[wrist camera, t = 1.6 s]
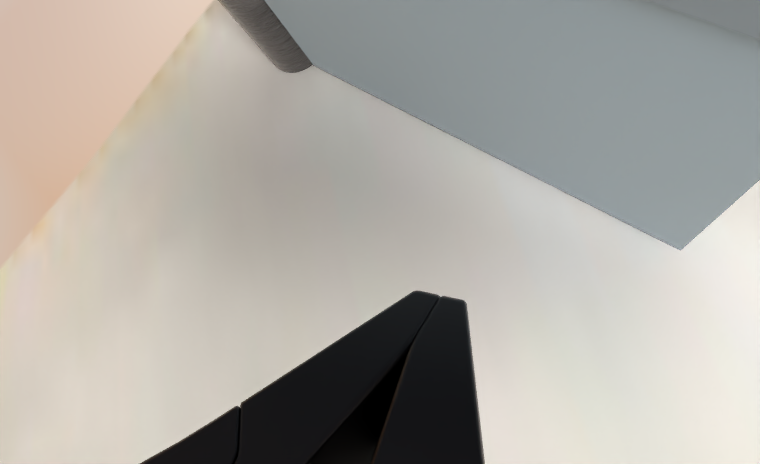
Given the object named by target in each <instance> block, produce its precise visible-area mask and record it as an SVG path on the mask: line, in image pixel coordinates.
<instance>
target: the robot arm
mask: <svg viewBox="0 0 760 464" xmlns="http://www.w3.org/2000/svg"><path fill="white" fill-rule="evenodd" d="M140 464H485V461H484V452H483V443H482V434H481V426H480V417H479V408H478V399H477V391H476V382H475V373H474V364H473V356H472V347H471V338H470V329H469V321H468V312H467V304H466V302H465V301H464V300H460V299H456V298H451V297H446V296H442V297H440V296H439V295H437V294H432V293H428V292H423V291H414V292H412V293H410V294H409V295H407V296H405V297H404V298H402V299H401V300H399V301H398V302H396V303H395V304H393V305H392V306H390V307H388V308H387V309H385V310H384V311H382V312H381V313H379V314H378V315H376V316H375V317H373V318H371V319H370V320H368V321H367V322H365V323H364V324H362V325H361V326H359V327H358V328H356V329H354V330H353V331H351V332H350V333H348V334H347V335H345V336H344V337H342V338H341V339H339V340H338V341H336V342H334V343H333V344H331V345H330V346H328V347H327V348H325V349H324V350H322V351H321V352H319V353H317V354H316V355H314V356H313V357H311V358H310V359H308V360H307V361H305V362H304V363H302V364H300V365H299V366H297V367H296V368H294V369H293V370H291V371H290V372H288V373H287V374H285V375H283V376H282V377H280V378H279V379H277V380H276V381H274V382H273V383H271V384H270V385H268V386H266V387H265V388H263V389H262V390H260V391H259V392H257V393H256V394H254V395H253V396H251V397H249V398H248V399H246V400H245V401H243V402H242V403H241V405H240V407H239V406H235V407H234V408H232V409H231V410H229V411H227V412H226V413H224V414H223V415H221V416H220V417H218V418H217V419H215V420H214V421H212V422H210V423H209V424H207V425H205V426H204V427H202V428H201V429H199V430H197V431H196V432H194V433H192V434H191V435H189V436H188V437H186V438H184V439H183V440H181V441H179V442H178V443H176V444H174V445H172V446H171V447H169V448H167V449H165V450H163V451H162V452H160V453H158V454H156V455H154V456H153V457H151V458H149V459H147V460H145V461H144V462H142V463H140Z"/></svg>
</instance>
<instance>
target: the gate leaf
mask: <svg viewBox="0 0 760 464" xmlns="http://www.w3.org/2000/svg"><path fill="white" fill-rule="evenodd" d="M265 2H266V3H267V4H268V6H269V7H270V8H271V10H272V11H273V12H274V14H275V15H276V16H277V18H278V19H279V20H280V22H281V23H282V24H283V26H284V27H285V28H286V29H287V31H288V32H289V33H290V35H291V36H292V37H293V39H294V40H295V41H296V43H297V44H298V45H299V47H300V48H301V49H302V51H303V52H304V53H305V55H306V56H307V57H308V59H309V60H310V61H311V63H312V64H313V65H314V66H316V67H318V68H320V69H322V70H324V71H326V72H328V73H330V74H332V75H334V76H336V77H338V78H340V79H341V80H343V81H345V82H347V83H349V84H351V85H353V86H355V87H357V88H359V89H361V90H363V91H365V92H367V93H369V94H371V95H373V96H375V97H377V98H379V99H381V100H383V101H385V102H387V103H389V104H391V105H393V106H395V107H397V108H399V109H401V110H403V111H405V112H407V113H409V114H411V115H413V116H415V117H417V118H419V119H421V120H423V121H425V122H427V123H429V124H431V125H433V126H435V127H437V128H439V129H441V130H443V131H445V132H447V133H449V134H451V135H453V136H454V137H456V138H458V139H460V140H462V141H464V142H466V143H468V144H470V145H472V146H474V147H476V148H478V149H480V150H482V151H484V152H486V153H488V154H490V155H492V156H494V157H496V158H498V159H500V160H502V161H504V162H506V163H508V164H510V165H512V166H514V167H516V168H518V169H520V170H522V171H524V172H526V173H528V174H530V175H532V176H534V177H536V178H538V179H540V180H542V181H544V182H546V183H548V184H550V185H552V186H554V187H556V188H558V189H560V190H562V191H564V192H565V193H567V194H569V195H571V196H573V197H575V198H577V199H579V200H581V201H583V202H585V203H587V204H589V205H591V206H593V207H595V208H597V209H599V210H601V211H603V212H605V213H607V214H609V215H611V216H613V217H615V218H617V219H619V220H621V221H623V222H625V223H627V224H629V225H631V226H633V227H635V228H637V229H639V230H641V231H643V232H645V233H647V234H649V235H651V236H653V237H655V238H657V239H659V240H661V241H663V242H665V243H667V244H669V245H671V246H673V247H675V248H677V249H678V250H682V249H683V248H684V247H685V246H686V245H687V244H688V243H689V242H690V241H692V240H693V239H694V238H695V237H696V236H697V235H698V234H699V233H701V232H702V231H703V230H704V229H705V228H706V227H707V226H708V225H710V224H711V223H712V222H713V221H714V220H715V219H716V218H717V217H718V216H720V215H721V214H722V213H723V212H724V211H725V210H726V209H727V208H729V207H730V206H731V205H732V204H733V203H734V202H735V201H736V200H738V199H739V198H740V197H741V196H742V195H743V194H744V193H745V192H746V191H748V190H749V189H750V188H751V187H752V186H753V185H754V184H755V183H757V182H758V181H759V180H760V0H265Z"/></svg>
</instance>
